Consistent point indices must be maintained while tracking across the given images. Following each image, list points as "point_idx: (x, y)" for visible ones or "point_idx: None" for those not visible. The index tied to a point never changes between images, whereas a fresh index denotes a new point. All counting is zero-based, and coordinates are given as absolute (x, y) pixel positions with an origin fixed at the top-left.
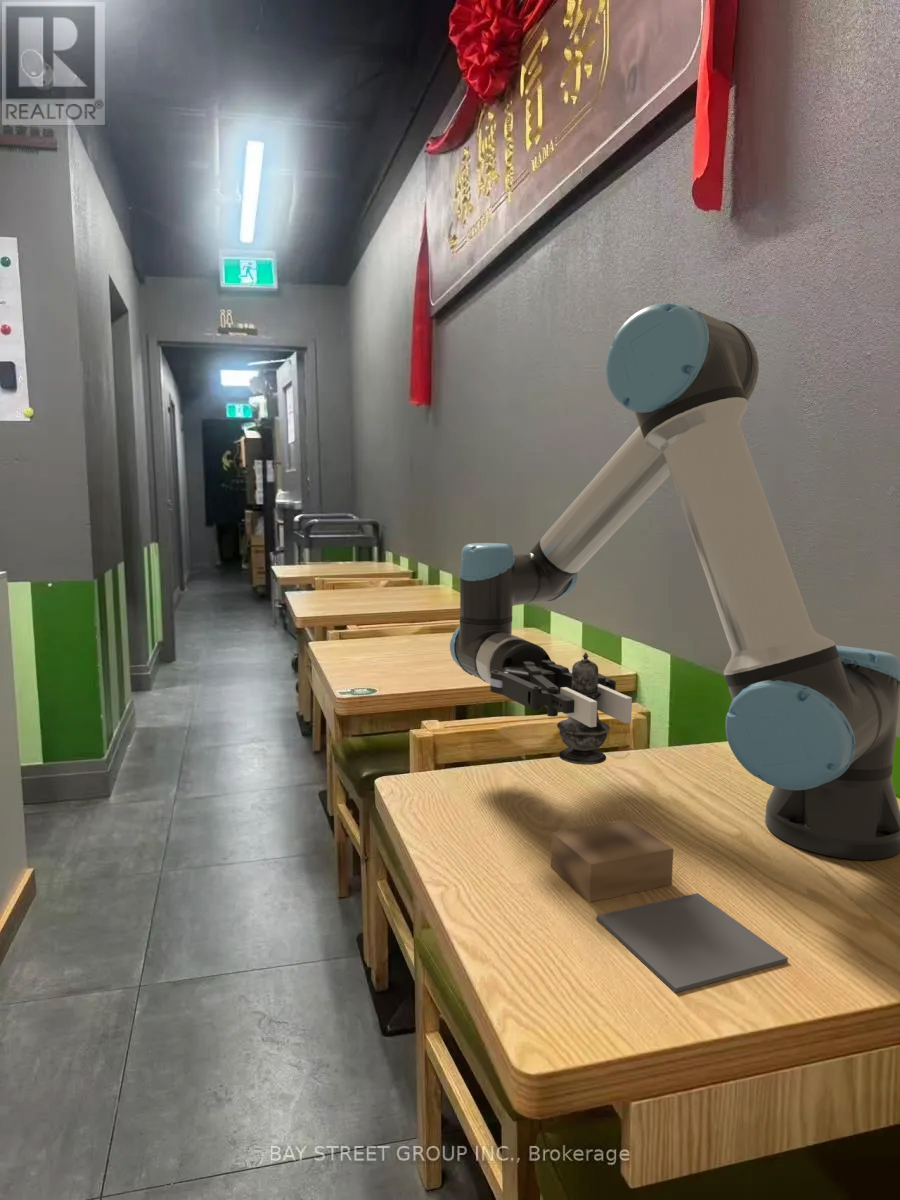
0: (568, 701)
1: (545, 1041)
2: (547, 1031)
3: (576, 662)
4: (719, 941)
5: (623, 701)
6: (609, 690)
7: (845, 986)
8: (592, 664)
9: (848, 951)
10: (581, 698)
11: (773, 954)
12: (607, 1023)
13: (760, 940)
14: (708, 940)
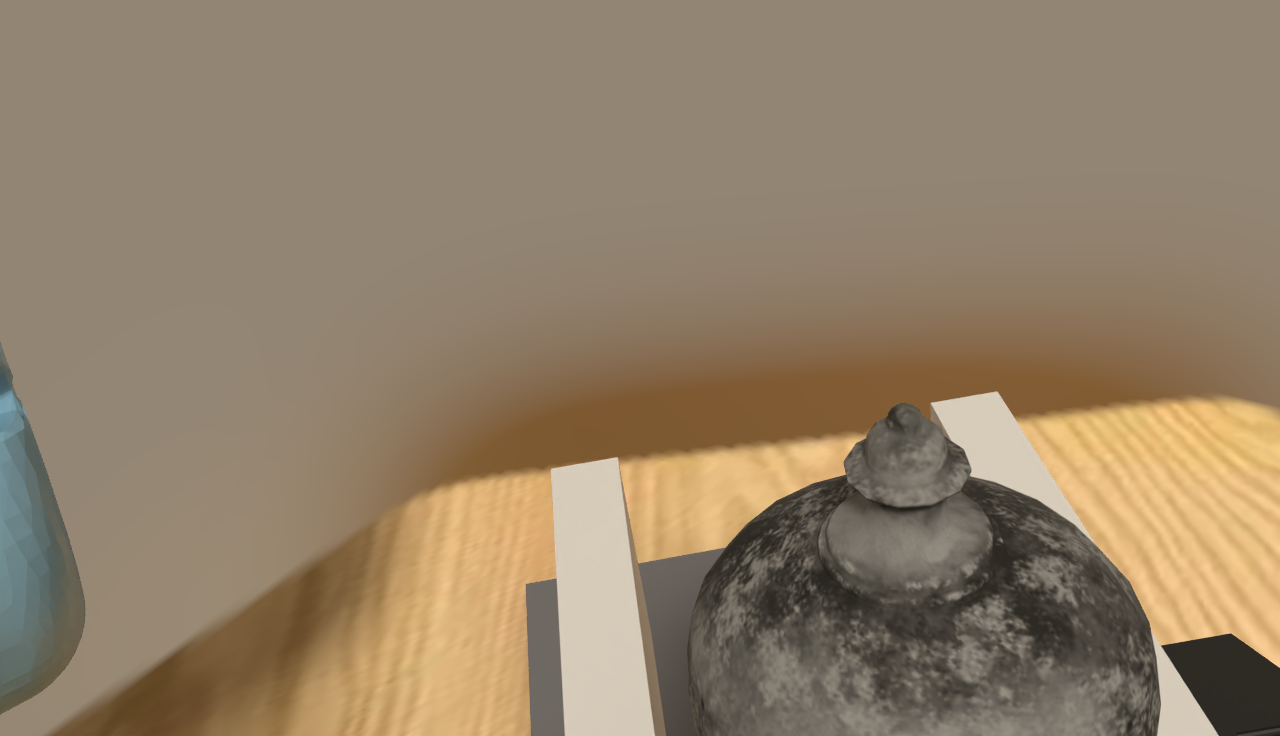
0: (1203, 650)
1: (1229, 442)
2: (1224, 461)
3: (1083, 610)
4: (655, 653)
5: (626, 513)
6: (623, 707)
7: (472, 522)
8: (816, 491)
9: (340, 614)
10: (1064, 506)
11: (550, 598)
12: (1075, 471)
13: (537, 645)
14: (685, 658)
